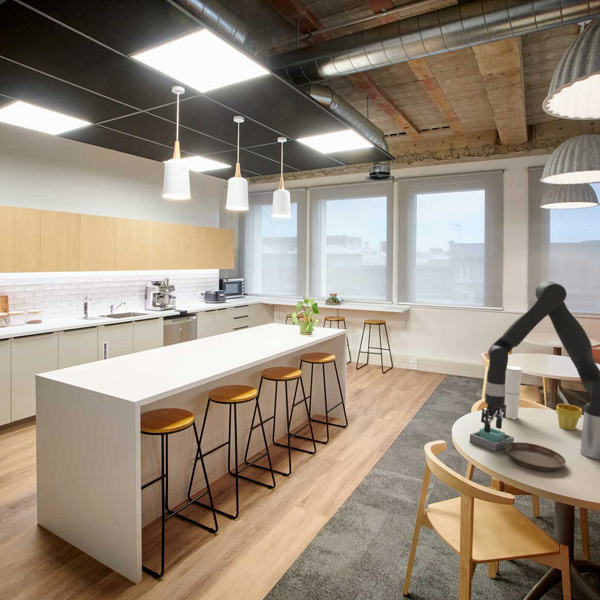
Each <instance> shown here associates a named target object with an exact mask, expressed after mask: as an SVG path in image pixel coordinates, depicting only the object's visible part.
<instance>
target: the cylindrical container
mask: <svg viewBox="0 0 600 600" xmlns="http://www.w3.org/2000/svg"><path fill="white" fill-rule="evenodd" d="M522 370H523V368H522V367H519V366H513V365H507V369H506V381H505V387H506V391H505V405H506V417H507V418H506V419H508V418H513V419H512V420H515V419H514V418H517V419H518V418H519V406H520V397H521V396H520V395H521V385H522V384H521V382H522V381H521V380H522V372H523V371H522ZM502 414H503V412H502Z"/></svg>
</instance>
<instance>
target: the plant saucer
mask: <svg viewBox="0 0 600 600" xmlns="http://www.w3.org/2000/svg"><path fill="white" fill-rule="evenodd" d="M504 450H505V451H506V453H507V454H508V456H509V458H511V459H512V460H513V461H514V462H515V463H517V464H518V465H520V466H522V467H525V468H528V469H531V470H535V471H541V472H555V471H557V470H559V469H561V468H563V467H564V466H565V465H566V463H567V461H566V458H565V457H564V456H563V455H562V454H560V453H559V452H557V451H555V450H553V449H551V448H548V447H545V446H543V445H540V444H534V443H530V442H523V441H522V442H519V441H517V442H516V441H515V442H514V443H510V444H507V445H506V447H505V449H504Z"/></svg>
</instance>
